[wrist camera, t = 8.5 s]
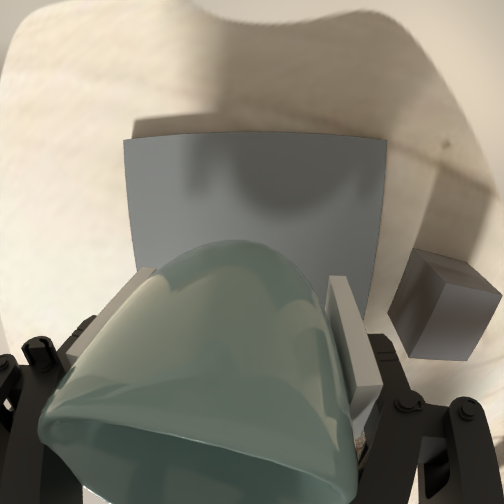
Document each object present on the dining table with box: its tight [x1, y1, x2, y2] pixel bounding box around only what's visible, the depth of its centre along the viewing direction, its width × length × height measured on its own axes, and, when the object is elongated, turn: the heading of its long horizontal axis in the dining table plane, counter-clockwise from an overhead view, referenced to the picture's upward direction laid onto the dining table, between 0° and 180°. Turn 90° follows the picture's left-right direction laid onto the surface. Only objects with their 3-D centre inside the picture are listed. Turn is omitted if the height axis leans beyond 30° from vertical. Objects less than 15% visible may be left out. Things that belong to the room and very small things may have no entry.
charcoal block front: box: [388, 248, 503, 361], centre depth 16 cm, size 5×5×5 cm
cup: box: [37, 239, 359, 504], centre depth 9 cm, size 8×8×10 cm
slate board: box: [123, 132, 387, 321], centre depth 18 cm, size 15×15×1 cm
